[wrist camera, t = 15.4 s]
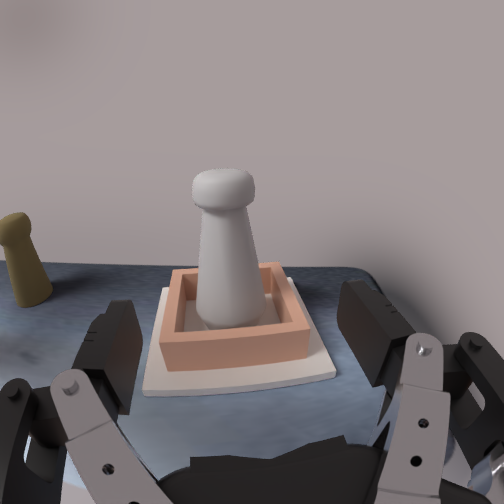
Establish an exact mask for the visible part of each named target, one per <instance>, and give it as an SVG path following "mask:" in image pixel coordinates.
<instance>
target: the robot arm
mask: <svg viewBox="0 0 504 504" xmlns="http://www.w3.org/2000/svg"><path fill="white" fill-rule="evenodd" d="M337 323H338V327H339V329H340V331H341V333H342V334H343V336H344V338H345V340H346V341H347V343H348V345H349V347H350V348H351V350H352V352H353V353H354V355H355V357H356V359H357V361H358V362H359V364H360V366H361V368H362V369H363V371H364V373H365V375H366V377H367V378H368V380H369V382H370V384H371V386H372V387H377V386H380V385H383V384H384V386H385V387H386V390H385V392H384V394H383V398H382V402H381V405H380V409H379V413H378V416H377V419H376V423H375V426H374V429H373V432H372V435H371V437H370V439H369V441H368V443H367V445H362V444H347V443H346V440H345V438H344V435H342V436H338V437H334V438H330V439H326V440H322V441H318V442H314V443H309V444H306V445H304V446H302V447H300V448H297V449H295V450H293V451H290V452H288V453H286V454H283V455H281V456H278V457H276V458H273V459H259V458H248V457H239V456H231V455H225V456H207V457H190V466H189V467H185V468H182V469H179V470H176V471H174V472H172V473H170V474H168V475H166V476H165V477H163V478H161V479H160V480H159V479H158V478H157V477H156V476H155V475H154V473H153V472H152V471H151V470H150V469H149V467H148V466H147V465H146V464H145V462H144V461H143V460H142V458H141V457H140V456H139V454H138V453H137V452H136V450H135V449H134V448H133V446H132V445H131V443H130V442H129V440H128V439H127V437H126V436H125V434H124V433H123V431H122V430H121V428H120V427H119V425H118V424H117V418H118V414H120V415H129V412H130V406H131V401H132V395H133V390H134V385H135V379H136V374H137V370H138V365H139V360H140V356H141V351H142V346H143V339H142V332H141V329H140V326H139V322H138V319H137V316H136V312H135V309H134V305H133V303H132V301H131V300H112V301H111V302H110V304H109V306H108V309H107V311H106V313H105V314H100V315H99V316H98V317H97V318H96V319H95V320H94V321H93V322H92V323H91V325H90V327H89V329H88V331H87V334H86V336H85V338H84V342H82V345H81V347H80V349H79V351H78V354H77V356H76V358H75V361H74V363H73V366H72V368H71V369H69V370H66V371H63V372H61V373H60V374H58V375H57V376H56V377H55V378H54V380H53V381H52V383H51V386H48V387H42V388H36V389H32V388H31V386H30V385H29V383H28V382H27V381H26V380H24V379H21V378H17V379H13V380H10V381H9V382H7V383H6V384H5V385H4V386H3V388H2V389H1V391H0V504H60V501H61V490H62V482H63V474H64V467H65V460H66V454H67V450H68V452H69V455H70V457H71V459H72V461H73V463H74V465H75V467H76V469H77V471H78V473H79V475H80V477H81V479H82V481H83V482H84V484H85V486H86V488H87V490H88V491H89V493H90V495H91V496H92V498H93V500H94V501H95V503H96V504H504V360H503V359H502V358H501V356H500V355H499V354H498V353H497V351H496V350H495V349H494V348H493V347H492V345H491V344H490V343H489V342H488V341H487V340H486V339H485V338H484V337H483V336H481V335H480V334H477V333H474V332H467V333H464V334H463V335H462V336H461V337H460V340H459V342H458V344H453V345H442V344H441V343H440V342H439V341H438V340H437V339H436V338H435V337H433V336H432V335H429V334H425V333H416V331H415V330H414V329H413V328H412V327H411V326H410V324H409V323H408V322H407V321H406V320H405V318H403V316H402V315H401V314H400V313H399V312H398V311H397V309H396V308H395V307H394V306H392V304H391V302H390V301H389V300H388V299H387V298H386V297H385V296H384V295H382V294H380V293H379V292H377V291H375V290H371V288H370V287H369V286H368V285H367V284H366V283H365V282H364V281H363V280H354V281H346V282H343V284H342V287H341V293H340V299H339V305H338V311H337ZM472 382H474V383H475V385H476V386H477V388H478V389H479V391H480V392H481V394H482V395H483V397H484V399H485V408H484V410H483V411H482V410H481V408H480V407H479V405H478V404H477V402H476V401H475V399H474V397H473V396H472V394H471V393H470V391H469V390H468V388H469V386H470V385H471V383H472ZM448 427H450V429H451V431H452V433H453V435H454V436H455V438H456V440H457V442H458V444H459V446H460V448H461V450H462V452H463V454H464V456H465V458H466V460H467V462H468V464H469V466H470V468H471V470H472V473H471V480H470V481H469V482H468V485H467V487H468V488H465V487H462V486H459V485H457V484H454V483H452V482H449V481H447V480H445V479H442V478H441V476H442V471H443V465H444V459H445V453H446V445H447V437H448ZM28 435H29V436H30V437H31V442H30V446H29V450H28V454H27V458H26V463H25V462H24V451H25V447H26V443H27V439H28Z"/></svg>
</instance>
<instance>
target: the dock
mask: <svg viewBox="0 0 504 504" xmlns="http://www.w3.org/2000/svg"><path fill="white" fill-rule="evenodd" d="M258 264H259V269H260V274H261V278H262V283H263V288H264V292H265V297H266V303H267V305H266V309H265V311H264V313H263V315H262V317H261V319H260V321H259V322H258V324H257V326H254V327H244V328H233V329H221V330H209V329H208V327H207V326H206V324H205V323H204V322H203V320H202V319H201V317H200V316H199V315H198V313H197V310H196V298H197V284H198V268H194V269H180V270H173V273H172V277H171V282H170V287H166V288H163V289H162V294H161V298H160V302H159V306H158V311H157V315H156V319H155V324H154V329H153V333H152V338H151V343H150V348H149V353H148V358H147V363H146V369H145V374H144V380H143V386H142V391H143V394H144V396H146V397H172V396H201V395H217V394H230V393H240V392H250V391H258V390H266V389H274V388H281V387H287V386H293V385H299V384H305V383H310V382H316V381H321V380H326V379H331V378H335V374H336V369H335V367H334V365H333V362H332V360H331V358H330V356H329V354H328V352H327V350H326V348H325V346H324V344H323V342H322V340H321V338H320V336H319V333H318V331H317V329H316V327H315V325H314V323H313V321H312V319H311V317H310V315H309V313H308V311H307V309H306V307H305V305H304V303H303V301H302V299H301V297H300V295H299V293H298V291H297V289H296V287H295V285H294V283H293V281H292V279H291V277H289V278H286V276H285V274H284V271H283V269H282V267H281V265H280V263H279V262H269V263H258Z"/></svg>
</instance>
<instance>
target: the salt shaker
mask: <svg viewBox="0 0 504 504" xmlns="http://www.w3.org/2000/svg"><path fill="white" fill-rule="evenodd" d="M192 194H193V201H194V203H195V205H196V206H198V207H200V208H202V209H203V213H202V225H201V237H200V253H199V268H198V284H197V298H196V310H197V313H198V315H199V316H200V317H201V319H202V320H203V322H204V323H205V324H206V326H207V327H208V329H209V330H221V329H233V328H244V327H254V326H257V324H258V322H259V321H260V319H261V317H262V315H263V313H264V311H265V309H266V305H267V303H266V297H265V292H264V288H263V283H262V278H261V274H260V269H259V264H258V260H257V255H256V250H255V246H254V241H253V236H252V232H251V227H250V222H249V218H248V213H247V208H246V206H247V205H249V204H250V203H251V202H253V200H254V196H255V195H254V194H255V186H254V181H253V177H252V176H251V175H250V174H249V173H248V172H247V171H243V170H239V169H230V168H226V169H214V170H208V171H205V172H203V173H200V174H198V175H197V176H196V178H195V179H194V181H193V188H192Z"/></svg>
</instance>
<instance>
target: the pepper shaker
mask: <svg viewBox="0 0 504 504" xmlns="http://www.w3.org/2000/svg"><path fill="white" fill-rule="evenodd" d="M30 233H31V222H30V219H29V217H28V216H27V215H26V214H25V213H23V212H22V213H21V212H20V213H13V214H11V215H8V216H6V217H4V218H3V219H1V220H0V244H1V245H2V246H3V247H4V253H5V258H6V263H7V267H8V272H9V276H10V280H11V284H12V288H13V292H14V295H15V299H16V302H17V305H18V306H20V307H23V308H27V307H32V306H35V305H37V304H39V303H41V302H43V301H44V300H46V299H47V298H48V297H49V296H50V295H51V293H52V291H53V287H52V285H51V283H50V281H49V279H48V276H47V274H46V272H45V270H44V268H43V266H42V264H41V261H40V259H39V257H38V255H37V252H36V250H35V248H34V246H33V243H32V240H31V238H30Z"/></svg>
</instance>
